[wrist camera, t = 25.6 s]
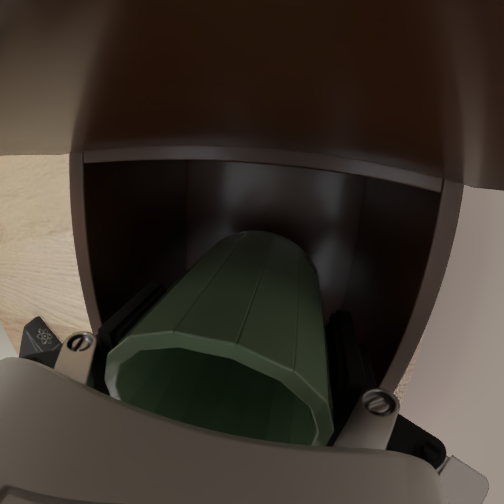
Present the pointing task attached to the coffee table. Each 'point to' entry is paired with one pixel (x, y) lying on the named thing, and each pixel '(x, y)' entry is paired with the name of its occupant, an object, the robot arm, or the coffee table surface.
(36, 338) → the book
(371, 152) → the lid
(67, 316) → the coffee table surface
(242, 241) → the green cup
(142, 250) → the chest
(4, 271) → the coffee table surface
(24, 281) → the coffee table surface
